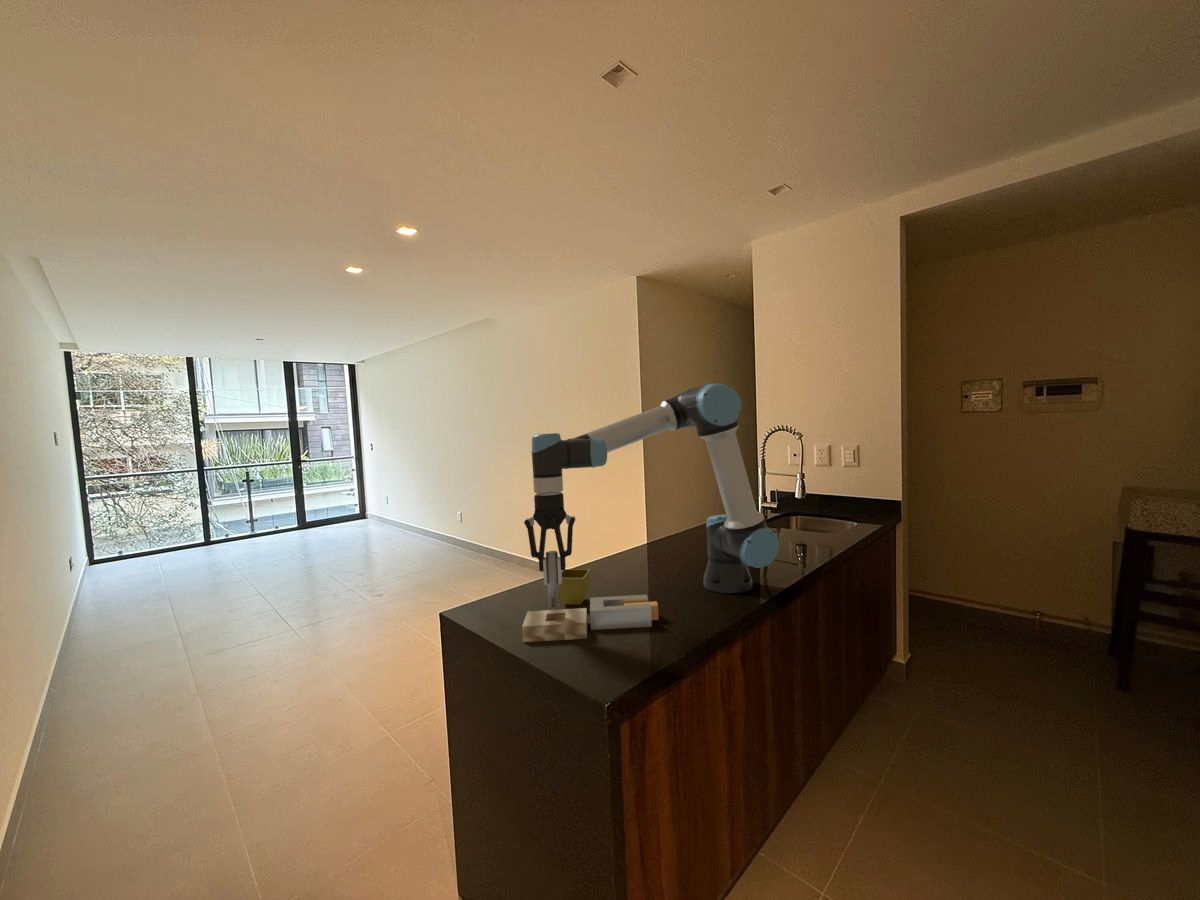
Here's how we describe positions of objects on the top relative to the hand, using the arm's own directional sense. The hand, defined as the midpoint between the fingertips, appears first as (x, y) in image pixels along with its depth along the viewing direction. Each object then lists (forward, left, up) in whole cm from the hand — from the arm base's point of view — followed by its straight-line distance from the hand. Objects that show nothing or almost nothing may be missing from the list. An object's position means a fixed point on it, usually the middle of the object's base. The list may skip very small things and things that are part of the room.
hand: (553, 582), depth 124 cm
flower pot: (-4, -21, -13) cm, 25 cm away
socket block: (-17, -5, -13) cm, 22 cm away
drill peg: (0, 0, -6) cm, 6 cm away
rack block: (0, 0, -13) cm, 13 cm away
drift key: (-23, -5, -13) cm, 27 cm away
